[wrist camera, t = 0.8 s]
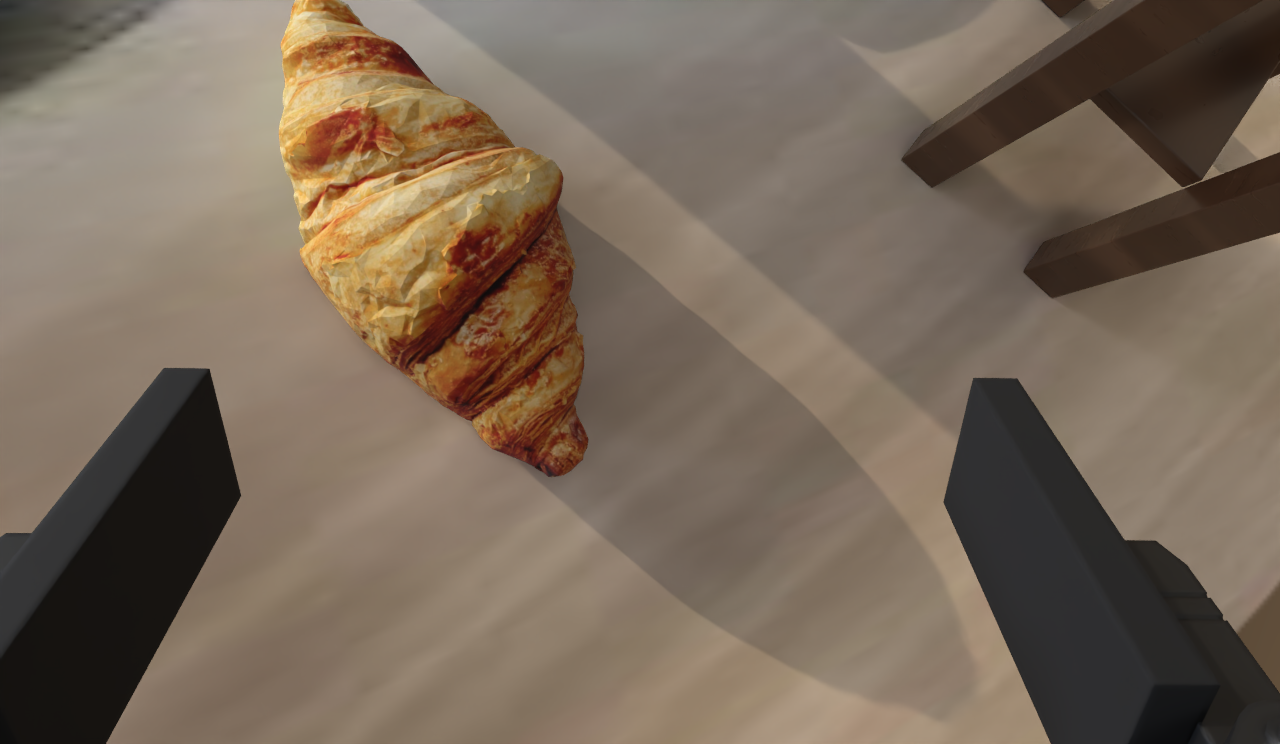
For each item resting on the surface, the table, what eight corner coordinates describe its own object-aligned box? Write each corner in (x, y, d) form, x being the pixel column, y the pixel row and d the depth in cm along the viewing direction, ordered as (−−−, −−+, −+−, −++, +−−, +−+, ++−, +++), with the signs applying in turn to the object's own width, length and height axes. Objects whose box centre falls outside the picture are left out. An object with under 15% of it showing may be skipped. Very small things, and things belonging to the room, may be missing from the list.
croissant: (254, 83, 41) (122, 40, 34) (439, -55, 39) (343, -134, 31) (502, 504, 41) (427, 560, 34) (700, 390, 39) (670, 422, 31)
